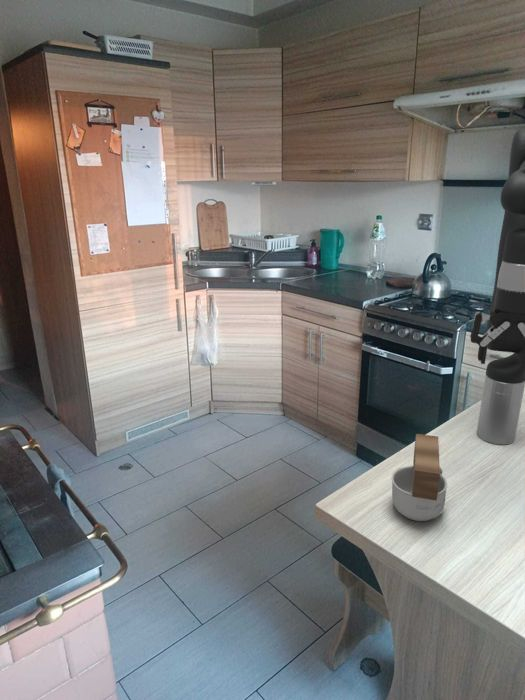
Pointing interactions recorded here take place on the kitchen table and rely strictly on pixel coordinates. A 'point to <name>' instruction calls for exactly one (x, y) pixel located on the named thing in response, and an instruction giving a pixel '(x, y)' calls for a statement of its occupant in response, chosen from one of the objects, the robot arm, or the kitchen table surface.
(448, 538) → the kitchen table surface
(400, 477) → the teacup
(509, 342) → the robot arm
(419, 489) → the walnut beam
